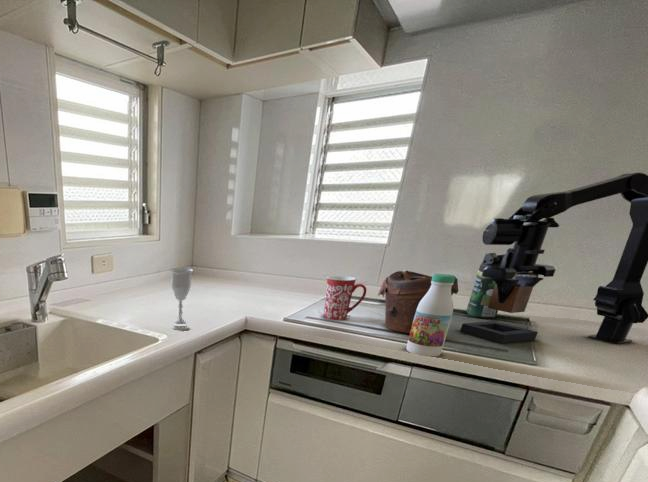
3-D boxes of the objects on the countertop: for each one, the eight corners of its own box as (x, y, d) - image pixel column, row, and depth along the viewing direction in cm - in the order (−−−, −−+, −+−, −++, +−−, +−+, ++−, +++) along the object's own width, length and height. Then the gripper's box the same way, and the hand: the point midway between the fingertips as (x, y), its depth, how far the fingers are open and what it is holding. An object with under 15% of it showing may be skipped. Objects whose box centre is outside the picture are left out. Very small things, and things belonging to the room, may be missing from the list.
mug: (319, 318, 137) (325, 278, 132) (321, 313, 144) (328, 274, 139) (360, 323, 132) (368, 281, 126) (360, 317, 139) (368, 277, 134)
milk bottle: (408, 345, 110) (427, 271, 102) (442, 351, 106) (465, 274, 98) (403, 353, 105) (423, 275, 97) (438, 359, 100) (462, 278, 92)
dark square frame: (491, 328, 125) (493, 320, 124) (534, 340, 114) (538, 331, 113) (460, 331, 123) (462, 323, 122) (501, 343, 112) (504, 335, 111)
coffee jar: (462, 311, 146) (478, 258, 138) (489, 313, 143) (507, 259, 136) (469, 317, 137) (487, 262, 130) (498, 320, 135) (518, 263, 127)
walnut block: (500, 306, 119) (509, 280, 116) (524, 311, 113) (534, 284, 110) (487, 307, 118) (495, 281, 115) (510, 313, 112) (520, 285, 109)
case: (380, 318, 138) (392, 264, 131) (450, 329, 125) (468, 270, 118) (363, 328, 126) (375, 270, 119) (438, 342, 113) (457, 277, 106)
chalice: (165, 325, 130) (166, 268, 123) (183, 323, 132) (185, 267, 125) (175, 331, 123) (177, 272, 116) (194, 329, 126) (197, 270, 119)
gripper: (521, 242, 118) (503, 295, 124) (471, 243, 114) (455, 298, 120) (566, 245, 108) (544, 302, 114) (513, 247, 104) (493, 306, 110)
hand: (508, 302), depth 115 cm, fingers closed on walnut block, 5 cm apart
